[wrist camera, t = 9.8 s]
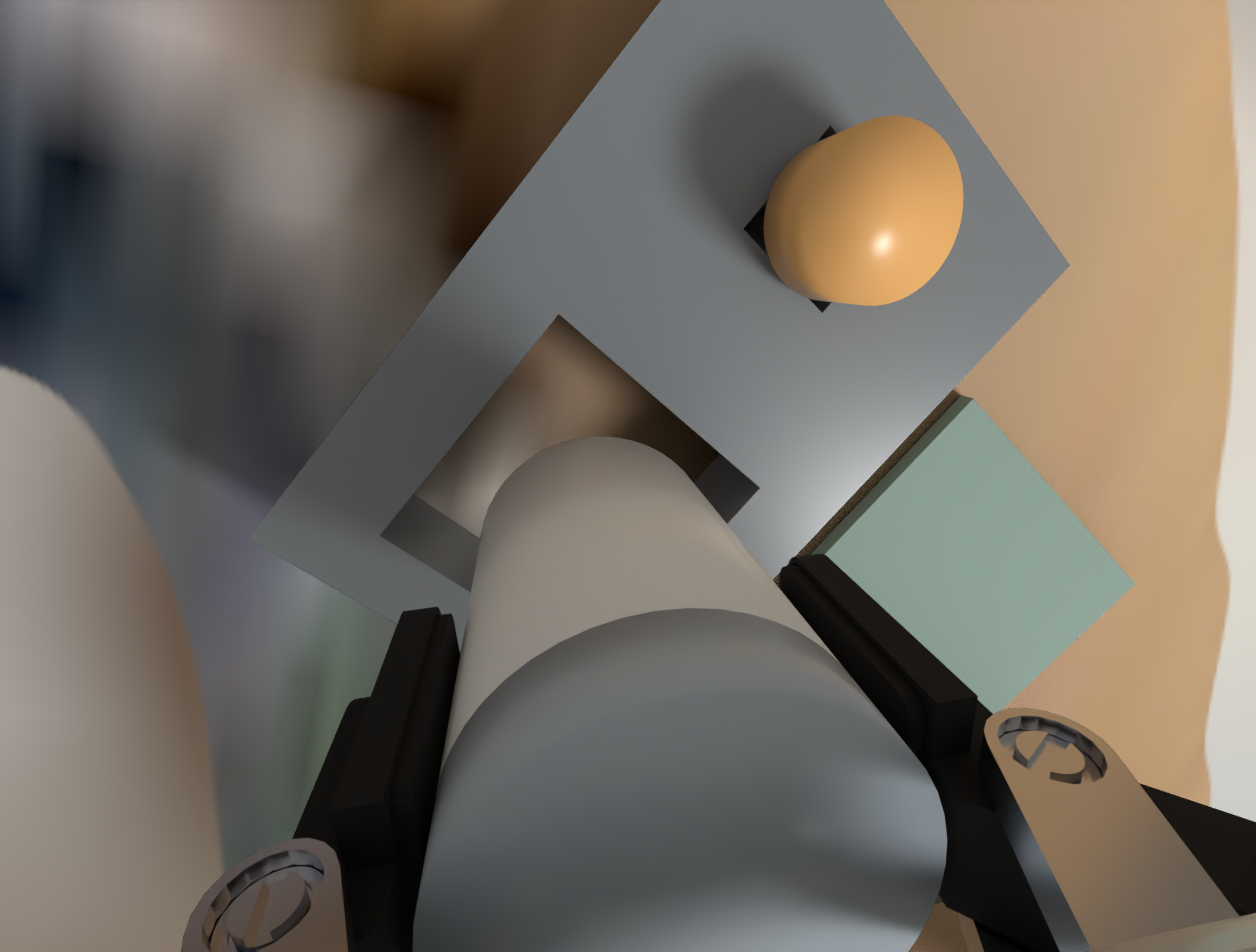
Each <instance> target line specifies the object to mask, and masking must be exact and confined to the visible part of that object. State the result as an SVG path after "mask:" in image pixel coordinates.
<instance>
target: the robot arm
mask: <svg viewBox="0 0 1256 952" xmlns="http://www.w3.org/2000/svg"><path fill="white" fill-rule="evenodd" d="M780 590H781V591H782V592H783V594H784V595H785V596H786V597H787V598H788V600H789V601H790V602H791V603H792V605H793V606H794V607H795V608H796V609H797V611H798V612H799V613H800V614H801V616H802V617H803V618H804V619H805V621H806V622H807V623H808V624H809V625H810V627H811V628H812V629H813V630H814V632H815V633H816V634H817V635H818V637H819V638H820V639H821V640H822V641H823V643H824V644H825V645H826V646H827V648H828V649H829V650H830V651H831V653H832V654H833V655H834V656H835V657H836V659H837V660H838V661H839V662H840V664H841V665H842V666H843V667H844V669H845V670H846V671H847V672H848V673H849V675H850V676H851V677H852V678H853V680H854V681H855V682H856V683H857V684H858V686H859V687H860V688H861V689H862V691H863V692H864V693H865V694H866V696H867V697H868V698H869V699H870V700H871V702H872V703H873V704H874V705H875V707H876V708H877V709H878V710H879V712H880V713H881V714H882V715H883V716H884V718H885V719H886V720H887V721H888V723H889V724H890V725H891V726H892V728H893V729H894V730H895V731H896V732H897V734H898V735H899V736H900V737H901V739H902V740H903V741H904V742H905V743H906V745H907V746H908V747H909V748H910V750H911V751H912V752H913V753H914V755H915V756H916V757H917V759H918V760H919V761H920V762H921V764H922V765H923V766H924V768H925V769H926V770H927V772H928V774H929V776H930V778H931V780H932V782H933V784H934V786H935V788H936V790H937V792H938V795H939V798H940V801H941V805H942V808H943V811H944V815H945V823H946V832H947V852H946V865H945V870H944V874H943V879H942V883H941V888H940V891H939V893H938V896H937V899H936V901H935V904H936V903H940V902H944V904H945V905H946V907H948V908H950V909H952V910H954V911H956V912H957V915H958V921H959V924H960V927H961V930H962V934H963V937H964V940H965V943H966V946H967V949H968V952H1256V822H1253V821H1250V820H1247V819H1244V818H1241V817H1239V816H1235V815H1233V814H1230V813H1227V812H1224V811H1221V810H1218V809H1215V808H1212V807H1209V806H1206V805H1203V804H1200V803H1197V802H1194V801H1191V800H1188V799H1185V798H1182V797H1179V796H1176V795H1173V794H1170V793H1167V792H1164V791H1161V790H1158V789H1155V788H1152V787H1149V786H1146V785H1143V784H1140V783H1138V781H1137V780H1136V779H1135V777H1134V776H1133V775H1132V773H1131V772H1130V771H1129V769H1128V768H1127V767H1126V765H1125V764H1124V763H1123V761H1122V760H1121V759H1120V758H1119V756H1118V755H1117V754H1116V752H1115V751H1114V750H1113V749H1112V748H1111V747H1110V746H1109V745H1108V744H1107V743H1106V742H1105V741H1104V740H1103V739H1102V738H1100V737H1099V736H1098V735H1096V734H1095V733H1093V732H1092V731H1090V730H1089V729H1087V728H1086V727H1084V726H1082V725H1080V724H1078V723H1076V722H1074V721H1072V720H1070V719H1068V718H1066V717H1063V716H1059V715H1056V714H1053V713H1050V712H1047V711H1043V710H1036V709H1030V708H1008V709H1005V710H1002V711H999V712H995V713H994V714H993V713H992V712H990V711H989V710H988V709H987V708H986V707H985V706H984V705H983V704H982V703H981V702H980V701H979V700H978V696H977V695H976V694H975V693H974V692H973V691H972V690H971V689H970V688H969V687H968V686H967V685H965V684H964V683H963V682H962V681H961V680H960V679H959V678H958V677H957V676H956V675H955V674H954V673H953V672H951V671H950V670H949V669H948V668H947V667H946V666H945V665H944V664H943V663H942V662H941V661H940V660H939V659H937V658H936V657H935V656H934V655H933V654H932V653H931V652H930V651H929V650H928V649H927V648H926V647H925V646H923V645H922V644H921V643H920V642H919V641H918V640H917V639H916V638H915V637H914V636H913V635H912V634H910V633H909V632H908V631H907V630H906V629H905V628H904V627H903V626H902V625H901V624H900V623H899V622H898V621H896V620H895V619H894V618H893V617H892V616H891V615H890V614H889V613H888V612H887V611H886V610H885V609H884V608H882V607H881V606H880V605H879V604H878V603H877V602H876V601H875V600H874V599H873V598H872V597H871V596H870V595H868V594H867V593H866V592H865V591H864V590H863V589H862V588H861V587H860V586H859V585H858V584H857V583H856V582H854V581H853V580H852V579H851V578H850V577H849V576H848V575H847V574H846V573H845V572H844V571H843V570H842V569H840V568H839V567H838V566H837V565H836V564H835V563H834V562H833V561H832V560H831V559H830V558H829V557H827V556H826V555H825V554H823V553H822V554H813V555H806V556H799V557H792V558H791V559H790V561H789V565H788V566H785V567H782V568H781V571H780ZM459 659H460V650H459V645H458V640H457V634H456V629H455V623H454V619H453V616H452V614H451V613H450V614H442V615H441V612H440V609H439V608H438V607H430V608H423V609H416V610H409V611H403V612H402V614H401V616H400V619H399V621H398V624H397V627H396V630H395V632H394V635H393V638H392V640H391V643H390V646H389V649H388V651H387V654H386V657H385V659H384V662H383V665H382V667H381V670H380V673H379V676H378V678H377V681H376V684H375V686H374V689H373V692H372V694H371V697H366V698H360V699H354V700H353V701H351V702H350V703H349V705H348V707H347V709H346V711H345V713H344V716H343V718H342V720H341V723H340V725H339V728H338V730H337V732H336V735H335V737H334V740H333V742H332V744H331V747H330V749H329V752H328V754H327V756H326V759H325V761H324V764H323V766H322V768H321V771H320V773H319V776H318V778H317V780H316V783H315V785H314V788H313V790H312V792H311V795H310V797H309V800H308V802H307V804H306V807H305V809H304V812H303V814H302V817H301V819H300V821H299V824H298V826H297V829H296V831H295V833H294V836H293V838H292V839H288V840H285V841H282V842H279V843H276V844H273V845H269V846H267V847H265V848H263V849H261V850H259V851H257V852H255V853H253V854H251V855H250V856H248V857H246V858H244V859H243V860H242V861H240V862H239V863H238V864H236V865H235V866H234V867H232V868H231V869H230V870H228V871H227V872H226V873H224V874H223V875H222V876H221V877H220V878H219V879H218V880H217V881H216V883H214V885H213V886H212V887H211V888H210V889H209V890H208V891H207V892H206V893H205V894H204V895H203V897H202V899H201V900H200V902H199V903H198V905H197V906H196V908H195V909H194V911H193V912H192V914H191V916H190V919H189V922H188V925H187V928H186V931H185V934H184V936H183V943H182V949H181V952H413V924H414V918H415V912H416V906H417V901H418V895H419V889H420V883H421V877H422V872H423V866H424V860H425V854H426V849H427V843H428V837H429V831H430V826H431V820H432V814H433V808H434V803H435V797H436V791H437V785H438V780H439V774H440V768H441V762H442V757H443V751H444V745H445V739H446V733H447V728H448V722H449V716H450V710H451V705H452V699H453V693H454V687H455V682H456V676H457V670H458V664H459Z"/></svg>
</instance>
